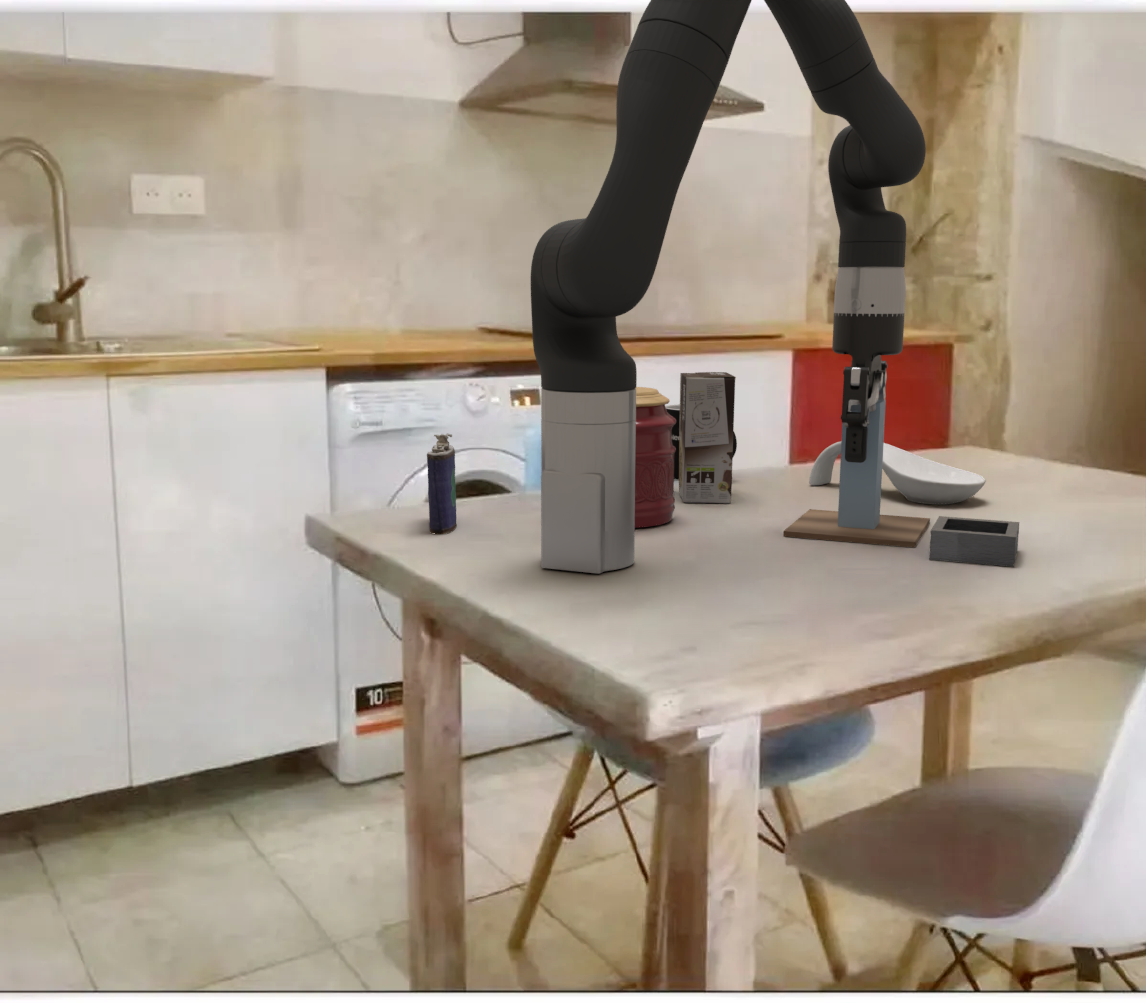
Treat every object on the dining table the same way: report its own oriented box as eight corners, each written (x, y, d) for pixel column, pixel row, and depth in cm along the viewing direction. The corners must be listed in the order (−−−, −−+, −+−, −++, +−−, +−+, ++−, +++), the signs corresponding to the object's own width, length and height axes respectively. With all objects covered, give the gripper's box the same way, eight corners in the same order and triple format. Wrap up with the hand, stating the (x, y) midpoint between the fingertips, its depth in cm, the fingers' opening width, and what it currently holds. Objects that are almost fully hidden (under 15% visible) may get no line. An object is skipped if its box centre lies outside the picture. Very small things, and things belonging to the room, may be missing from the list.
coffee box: (733, 503, 147) (736, 376, 144) (682, 503, 147) (684, 375, 144) (725, 491, 156) (728, 370, 153) (677, 491, 156) (679, 370, 153)
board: (914, 547, 122) (915, 542, 122) (783, 536, 127) (783, 531, 127) (929, 523, 135) (930, 518, 135) (809, 514, 140) (809, 509, 140)
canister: (544, 523, 134) (544, 370, 131) (595, 505, 146) (596, 364, 142) (647, 534, 128) (649, 374, 125) (691, 514, 140) (694, 367, 136)
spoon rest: (998, 501, 150) (1002, 447, 149) (958, 514, 142) (962, 456, 140) (837, 481, 166) (839, 431, 165) (792, 491, 157) (794, 438, 156)
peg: (874, 529, 128) (880, 403, 126) (837, 526, 130) (843, 401, 127) (879, 522, 132) (885, 399, 129) (844, 519, 133) (849, 398, 131)
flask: (434, 518, 137) (433, 428, 135) (459, 518, 137) (458, 428, 135) (427, 535, 128) (425, 438, 126) (453, 535, 128) (452, 438, 126)
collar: (1013, 566, 114) (1015, 537, 113) (928, 559, 117) (930, 530, 116) (1017, 550, 121) (1019, 522, 120) (937, 543, 124) (939, 516, 123)
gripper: (895, 311, 119) (887, 468, 122) (912, 309, 132) (905, 451, 135) (821, 310, 122) (815, 463, 125) (846, 308, 134) (839, 447, 137)
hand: (862, 457), depth 130 cm, fingers open, 8 cm apart
